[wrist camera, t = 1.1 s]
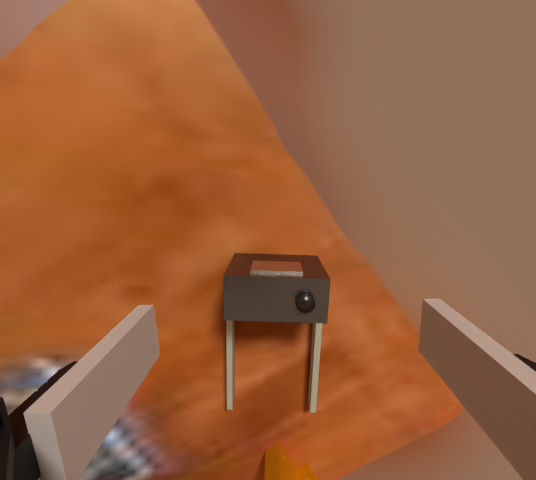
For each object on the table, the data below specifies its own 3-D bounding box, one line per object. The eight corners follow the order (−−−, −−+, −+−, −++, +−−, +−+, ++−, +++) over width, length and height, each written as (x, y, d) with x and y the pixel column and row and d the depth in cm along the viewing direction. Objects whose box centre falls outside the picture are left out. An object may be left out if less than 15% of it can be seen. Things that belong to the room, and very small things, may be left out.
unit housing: (234, 288, 39) (222, 324, 30) (234, 251, 38) (222, 275, 29) (314, 290, 39) (328, 327, 30) (317, 253, 38) (332, 279, 29)
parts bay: (229, 396, 43) (226, 409, 41) (229, 288, 39) (226, 296, 37) (313, 399, 43) (315, 412, 41) (320, 291, 39) (323, 299, 37)
